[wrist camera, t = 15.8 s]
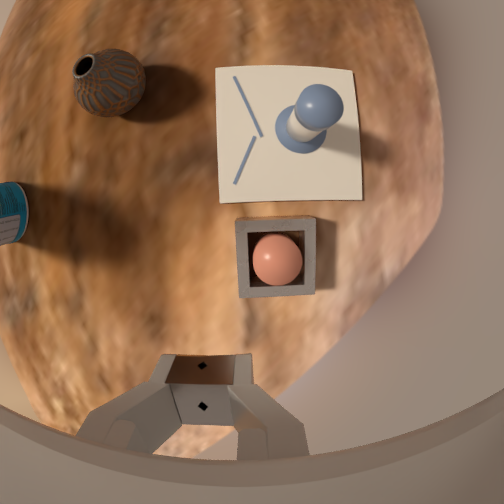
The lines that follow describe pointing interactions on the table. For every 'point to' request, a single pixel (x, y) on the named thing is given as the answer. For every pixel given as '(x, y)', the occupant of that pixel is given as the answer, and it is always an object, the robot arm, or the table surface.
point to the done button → (276, 258)
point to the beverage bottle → (12, 212)
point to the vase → (108, 82)
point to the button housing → (307, 247)
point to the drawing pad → (283, 137)
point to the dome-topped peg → (314, 112)
